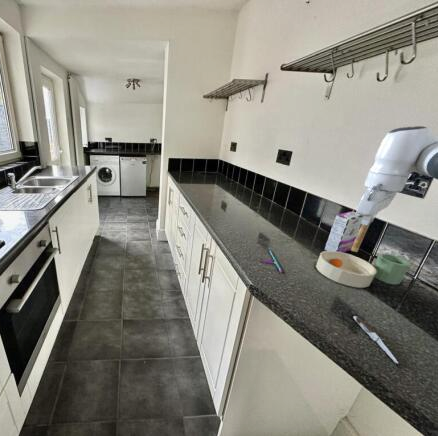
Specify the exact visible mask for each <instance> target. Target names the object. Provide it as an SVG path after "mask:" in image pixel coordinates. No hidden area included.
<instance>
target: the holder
mask: <svg viewBox="0 0 438 436" xmlns="http://www.w3.org/2000/svg"><path fill="white" fill-rule="evenodd" d="M372 265H373V267H374V268H375V269H376V271H377V273H376V275H375V277H374V279H376V280H378V281H380V282H384V283H386V284H390V285H400V284H401V283H402V281H403V279H404V277H405V276H406V274H407V272H408V270H409V269H410V266H411V265H412V264H411V262H410V261H409V260H407V259H406V258H403V257H401V256H399V255H396V254H392V253H386V252H381V253H379V254H378V255H377V257H376V259H375V262H374V264H372Z"/></svg>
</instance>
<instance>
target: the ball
mask: <svg viewBox="0 0 438 436" xmlns="http://www.w3.org/2000/svg"><path fill="white" fill-rule="evenodd" d="M331 264H332V265H333V266H335V267H341V266H342V264H343V263H342V261H341V260H340V259H333V260H332V261H331Z"/></svg>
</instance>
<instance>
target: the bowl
mask: <svg viewBox="0 0 438 436" xmlns="http://www.w3.org/2000/svg"><path fill="white" fill-rule="evenodd" d="M333 259H340V260H341V261H342V263H343V264H342V266H341V267H335V266H333V265H332V264H331V261H332V260H333ZM373 265H374V264H371V263H370V262H369V261H367V260H365V259H363V258H360V257H357V256H356V255H353V254H350V253H347V252H337V251H327V250H323V251H322V252H320V253H319V256H318V258H317V261H316V264H315V268H316V269H317V271H318V272H319V273H320V274H321V275H323V276H324V277H326V278H327V279H329V280H331V281H333V282H336V283H338V284H342V285H344V286H348V287H352V288H367V287H370V286H371V284H372V283H373V281H374V279H375V275H376V273H377V271H376V269H375V268H374V267H373Z"/></svg>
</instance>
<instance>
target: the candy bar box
mask: <svg viewBox="0 0 438 436" xmlns="http://www.w3.org/2000/svg"><path fill="white" fill-rule="evenodd" d="M362 219H363V215H359V214H357V213H356V211H348V212H343V213H339V214H336V215H335V216H334V220H333V224H332V226H331V229H330V232H329V235H328V236H327V237H328V238H327V240H326V243H325V246H324V251H337V252H343V253H347V252H349V251H351V248H352V246H353V243H354V241H355V239H356V237H357V234H358V232H359V230H360V227H361V225H362V224H361V222H362Z"/></svg>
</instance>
